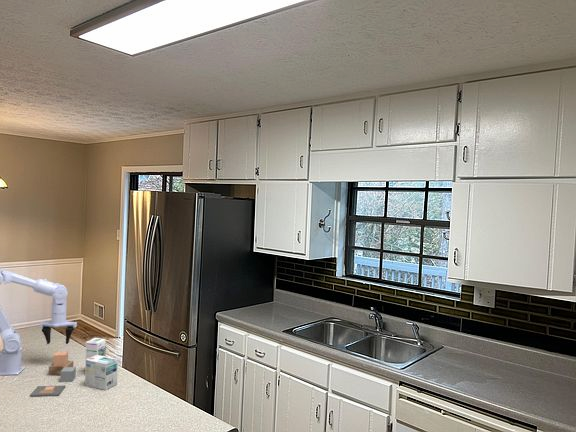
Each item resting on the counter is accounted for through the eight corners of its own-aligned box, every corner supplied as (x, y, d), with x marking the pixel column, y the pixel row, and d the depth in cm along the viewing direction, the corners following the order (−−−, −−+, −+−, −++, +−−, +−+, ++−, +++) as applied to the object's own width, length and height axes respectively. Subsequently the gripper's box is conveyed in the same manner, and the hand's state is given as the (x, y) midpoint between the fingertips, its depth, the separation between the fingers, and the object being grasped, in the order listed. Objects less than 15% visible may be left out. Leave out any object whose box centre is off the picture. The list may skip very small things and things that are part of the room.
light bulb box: (117, 384, 178) (118, 358, 178) (105, 390, 172) (106, 363, 172) (96, 379, 182) (97, 353, 182) (83, 385, 176) (84, 359, 175)
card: (29, 396, 164) (29, 394, 164) (37, 387, 172) (37, 385, 172) (58, 395, 166) (58, 394, 166) (65, 386, 174) (65, 385, 174)
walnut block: (48, 376, 183) (48, 366, 183) (56, 369, 190) (57, 360, 190) (65, 376, 184) (66, 367, 184) (73, 370, 191) (73, 361, 191)
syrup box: (97, 377, 184) (98, 342, 184) (84, 375, 186) (85, 341, 185) (105, 371, 190) (106, 338, 190) (93, 370, 191) (94, 337, 191)
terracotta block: (53, 366, 184) (53, 355, 184) (56, 362, 189) (56, 351, 188) (65, 365, 185) (65, 354, 185) (67, 361, 190) (68, 351, 190)
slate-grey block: (60, 382, 178) (60, 371, 177) (63, 378, 182) (64, 367, 182) (72, 382, 178) (72, 371, 178) (75, 377, 183) (75, 367, 183)
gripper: (37, 315, 188) (36, 346, 189) (74, 315, 191) (73, 346, 191) (43, 310, 195) (42, 341, 196) (78, 310, 198) (77, 340, 198)
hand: (58, 343), depth 194 cm, fingers open, 7 cm apart
